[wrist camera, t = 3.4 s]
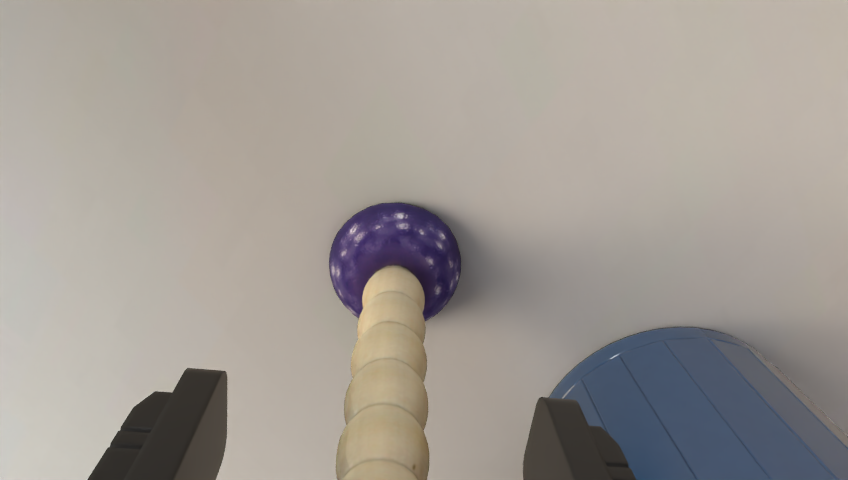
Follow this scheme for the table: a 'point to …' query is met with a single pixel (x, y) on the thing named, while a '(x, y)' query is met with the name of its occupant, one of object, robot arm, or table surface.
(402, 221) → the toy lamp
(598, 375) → the blue coffee mug
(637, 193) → the table surface
